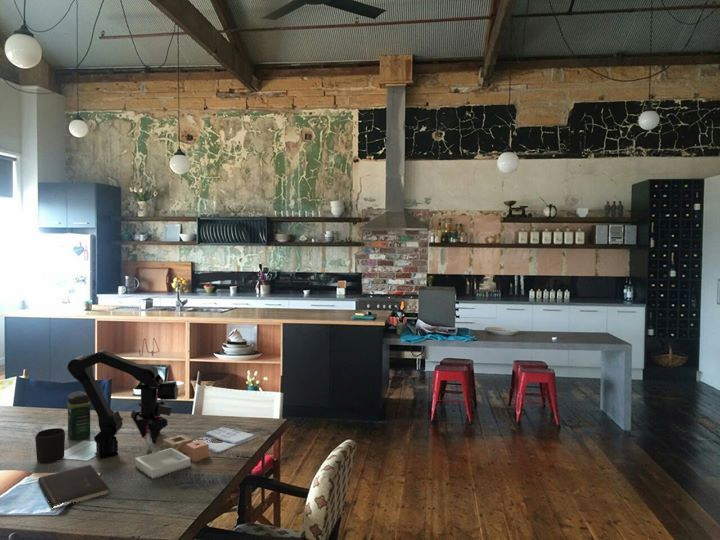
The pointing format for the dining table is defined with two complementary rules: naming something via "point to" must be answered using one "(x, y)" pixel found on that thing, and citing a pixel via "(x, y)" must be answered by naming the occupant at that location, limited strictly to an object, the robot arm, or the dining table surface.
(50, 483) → the hardcover book
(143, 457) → the tray
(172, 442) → the oak block
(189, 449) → the rust block
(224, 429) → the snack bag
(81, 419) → the coffee jar
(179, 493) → the dining table surface
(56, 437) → the pen holder
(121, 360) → the robot arm
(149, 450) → the cylinder
